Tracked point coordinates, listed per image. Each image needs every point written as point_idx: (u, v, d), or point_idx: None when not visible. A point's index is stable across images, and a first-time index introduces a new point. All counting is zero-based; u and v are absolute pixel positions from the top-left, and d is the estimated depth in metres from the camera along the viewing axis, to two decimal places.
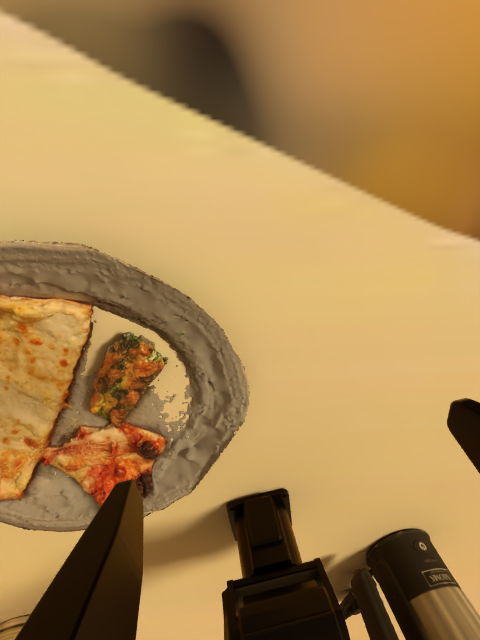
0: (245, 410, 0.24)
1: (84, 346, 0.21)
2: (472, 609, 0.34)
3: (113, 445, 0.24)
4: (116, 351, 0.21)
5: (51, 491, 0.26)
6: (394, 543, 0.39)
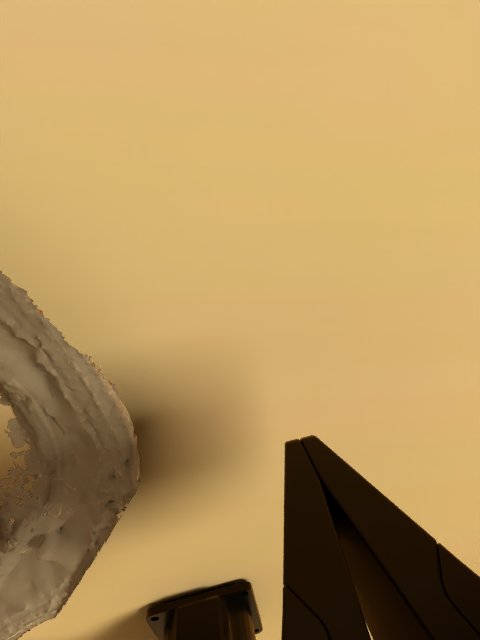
0: (133, 472, 0.12)
1: None
2: None
3: None
4: None
5: None
6: None
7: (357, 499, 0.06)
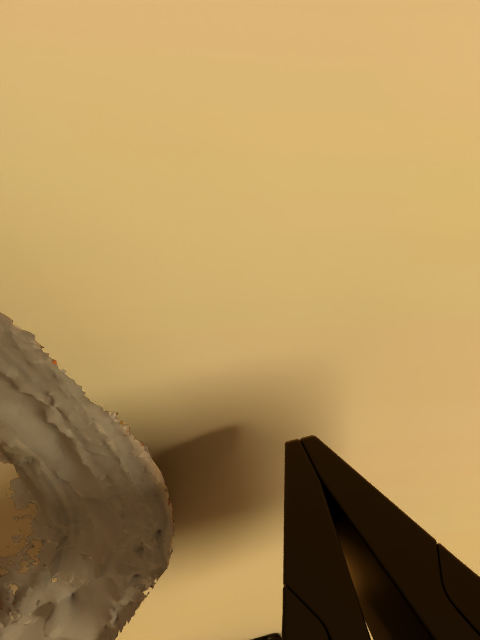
0: (166, 544, 0.09)
1: None
2: None
3: None
4: None
5: None
6: None
7: (357, 499, 0.06)
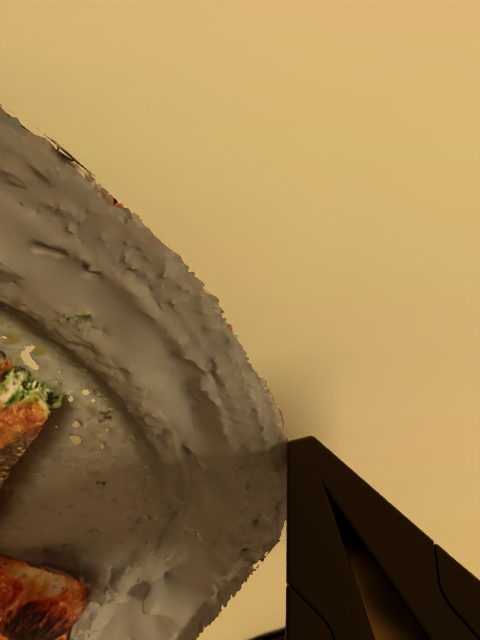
0: (282, 516, 0.09)
1: None
2: None
3: None
4: None
5: None
6: None
7: (355, 500, 0.06)
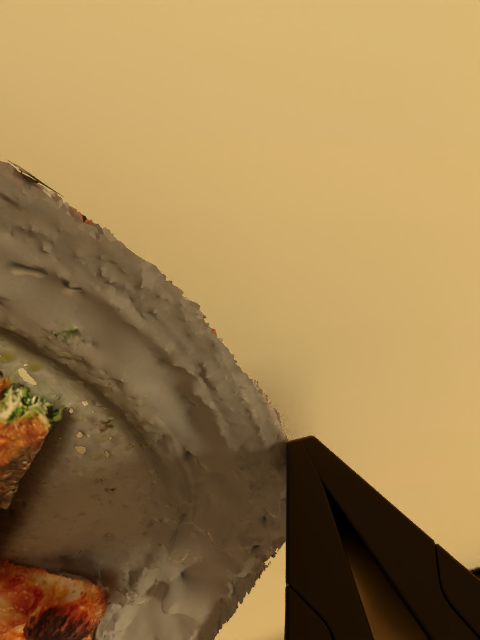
0: None
1: None
2: None
3: None
4: None
5: None
6: None
7: (355, 499, 0.06)
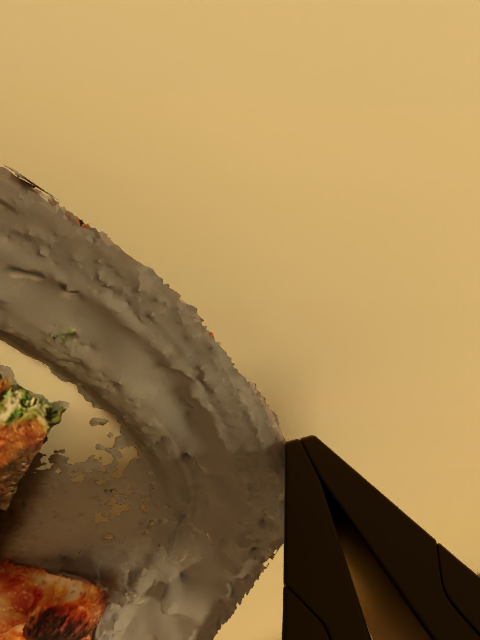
0: None
1: None
2: None
3: None
4: None
5: None
6: None
7: (357, 499, 0.06)
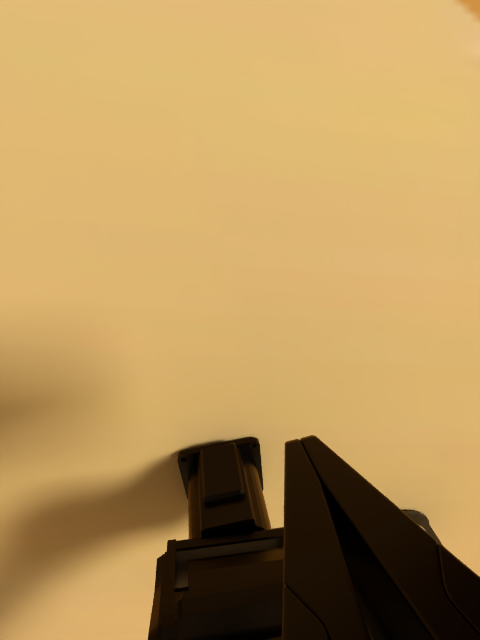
0: None
1: None
2: None
3: None
4: None
5: None
6: None
7: (357, 499, 0.06)
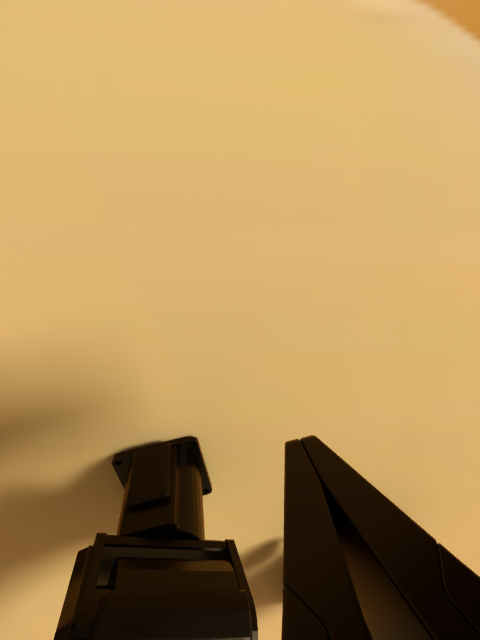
0: None
1: None
2: None
3: None
4: None
5: None
6: None
7: (357, 499, 0.06)
